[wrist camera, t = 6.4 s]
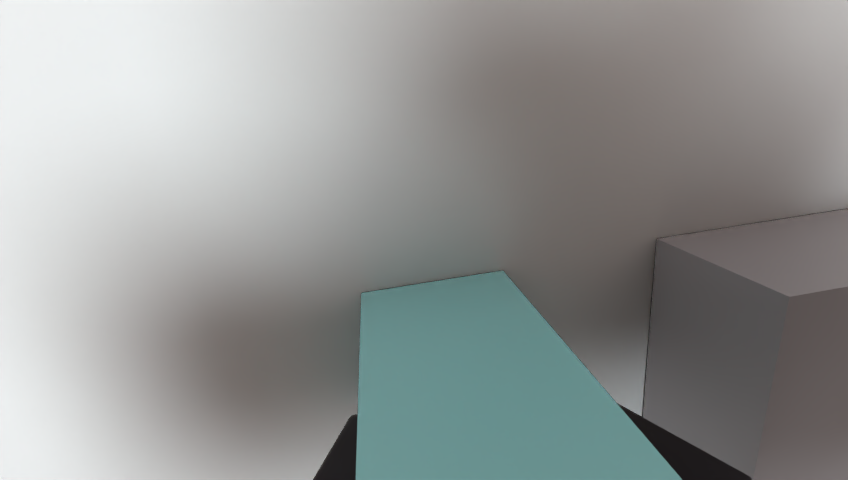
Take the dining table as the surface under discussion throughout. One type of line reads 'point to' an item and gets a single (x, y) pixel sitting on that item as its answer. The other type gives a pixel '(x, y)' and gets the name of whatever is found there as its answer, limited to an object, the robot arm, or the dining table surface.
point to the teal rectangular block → (483, 392)
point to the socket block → (755, 345)
